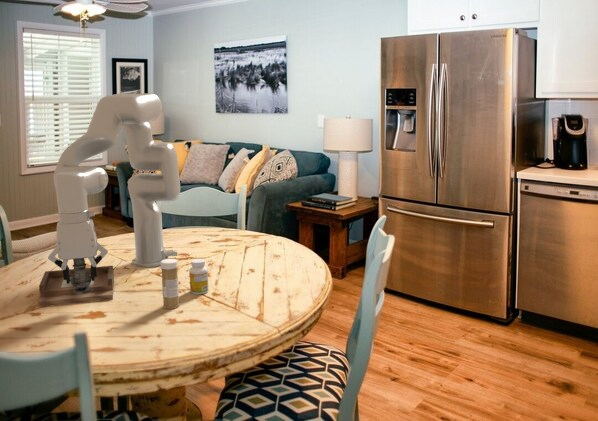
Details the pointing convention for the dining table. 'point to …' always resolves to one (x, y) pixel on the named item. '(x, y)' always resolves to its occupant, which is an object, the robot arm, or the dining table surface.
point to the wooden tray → (60, 292)
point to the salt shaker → (80, 277)
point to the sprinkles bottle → (170, 283)
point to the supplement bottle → (198, 277)
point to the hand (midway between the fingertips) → (81, 280)
